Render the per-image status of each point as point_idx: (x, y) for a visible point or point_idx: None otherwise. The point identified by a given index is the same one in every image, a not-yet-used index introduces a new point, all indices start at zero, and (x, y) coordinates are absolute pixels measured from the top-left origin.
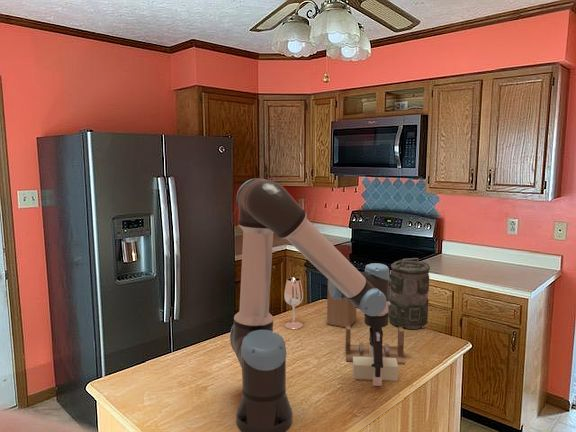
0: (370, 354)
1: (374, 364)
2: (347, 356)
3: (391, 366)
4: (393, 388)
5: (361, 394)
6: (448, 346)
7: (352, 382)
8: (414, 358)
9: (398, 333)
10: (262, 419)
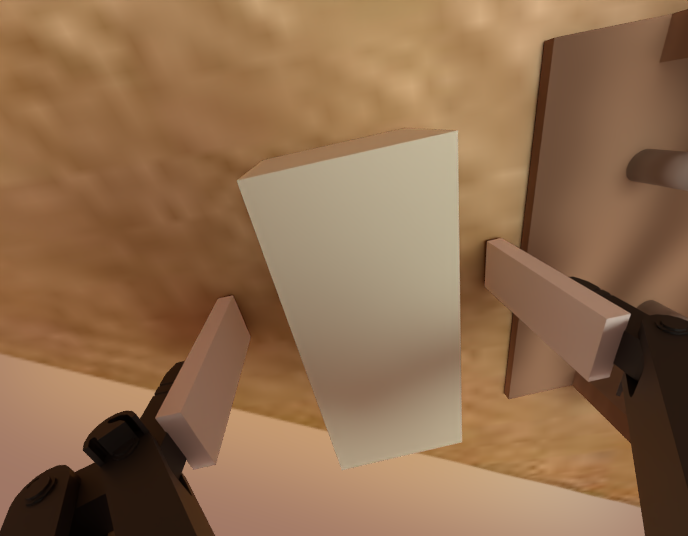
0: (539, 282)
1: (28, 504)
2: (629, 38)
3: (333, 442)
4: (246, 384)
5: (69, 249)
6: None
7: (202, 159)
8: (561, 413)
9: None
10: None
